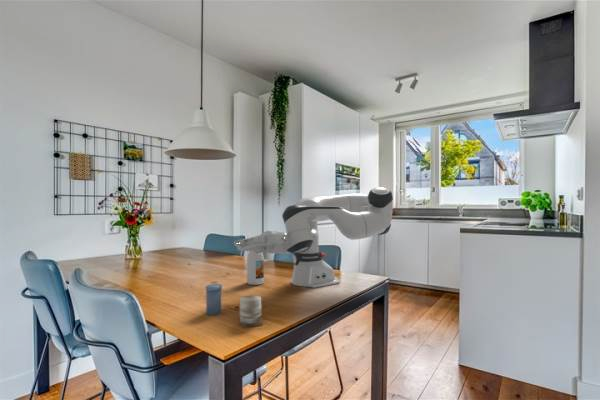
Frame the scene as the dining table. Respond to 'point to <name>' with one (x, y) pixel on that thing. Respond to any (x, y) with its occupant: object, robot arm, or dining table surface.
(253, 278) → the milk bottle
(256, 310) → the stand
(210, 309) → the blue canister
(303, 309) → the dining table surface
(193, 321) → the dining table surface
